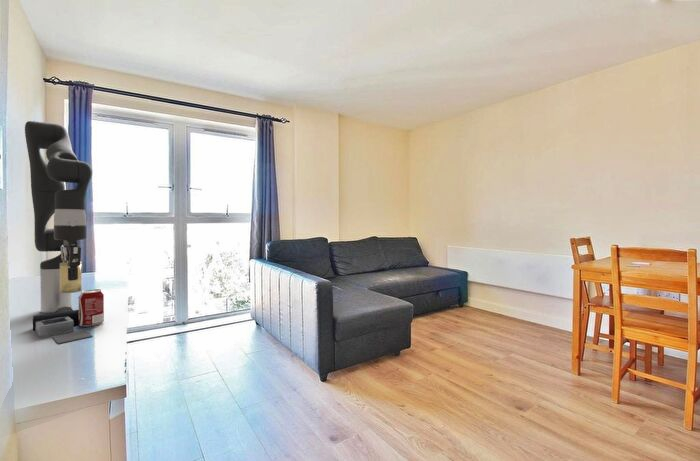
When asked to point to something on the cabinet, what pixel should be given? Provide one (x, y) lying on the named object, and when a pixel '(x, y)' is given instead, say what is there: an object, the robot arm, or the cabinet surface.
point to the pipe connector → (58, 315)
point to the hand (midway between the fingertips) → (70, 278)
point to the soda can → (91, 308)
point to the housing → (54, 326)
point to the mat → (72, 337)
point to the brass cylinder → (65, 284)
